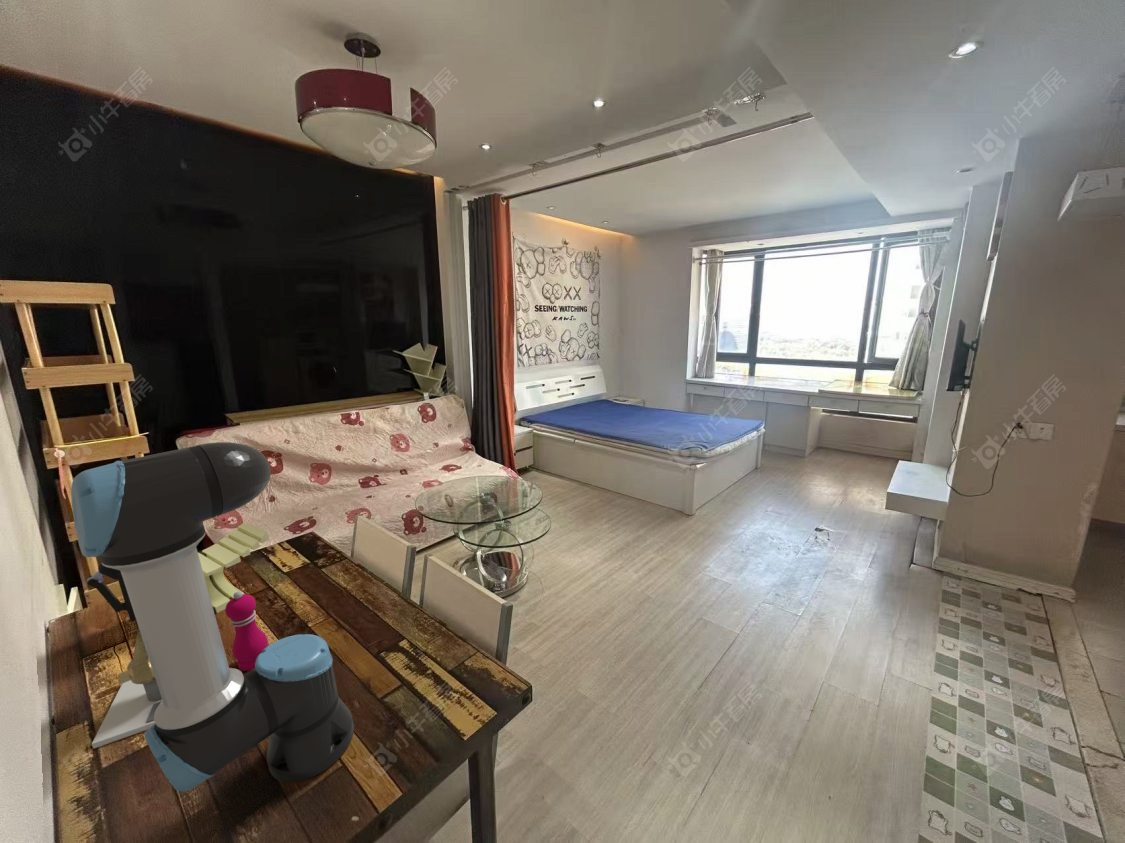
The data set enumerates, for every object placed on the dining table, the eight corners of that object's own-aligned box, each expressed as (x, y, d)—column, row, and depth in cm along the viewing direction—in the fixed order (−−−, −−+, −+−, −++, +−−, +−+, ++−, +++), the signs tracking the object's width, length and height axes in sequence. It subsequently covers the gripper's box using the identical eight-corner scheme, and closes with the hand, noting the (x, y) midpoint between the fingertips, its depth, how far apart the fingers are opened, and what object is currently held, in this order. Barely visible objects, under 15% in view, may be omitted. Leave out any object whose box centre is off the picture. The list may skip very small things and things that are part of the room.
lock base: (204, 709, 97) (197, 682, 95) (93, 748, 89) (82, 720, 87) (219, 654, 112) (213, 630, 111) (125, 683, 104) (117, 658, 102)
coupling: (113, 718, 87) (99, 679, 84) (126, 653, 103) (114, 618, 101) (187, 687, 94) (176, 650, 91) (188, 630, 110) (179, 597, 108)
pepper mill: (253, 674, 106) (236, 603, 101) (228, 670, 107) (210, 600, 102) (278, 652, 113) (262, 584, 108) (254, 648, 114) (238, 581, 109)
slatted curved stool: (252, 567, 150) (241, 520, 145) (278, 581, 142) (267, 532, 137) (137, 621, 125) (119, 566, 120) (159, 642, 117) (142, 584, 112)
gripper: (76, 557, 90) (108, 653, 96) (160, 532, 100) (184, 621, 106) (74, 544, 95) (104, 636, 101) (154, 522, 104) (177, 607, 110)
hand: (145, 628), depth 103 cm, fingers closed
